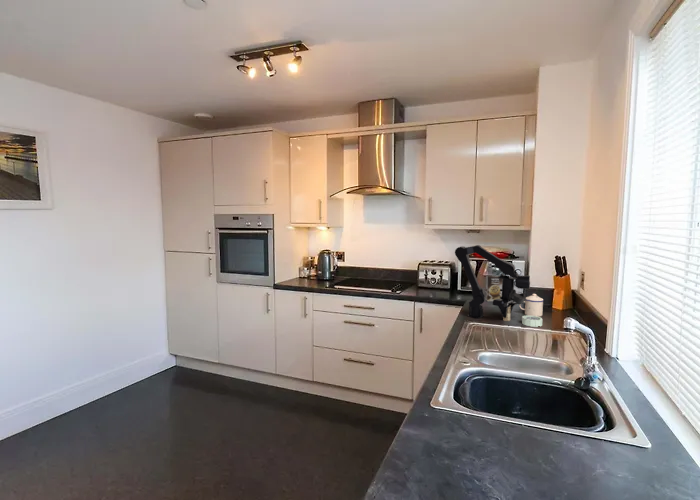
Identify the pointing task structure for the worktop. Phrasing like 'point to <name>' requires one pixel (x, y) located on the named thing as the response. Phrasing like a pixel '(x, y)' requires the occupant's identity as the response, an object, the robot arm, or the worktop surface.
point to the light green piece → (532, 321)
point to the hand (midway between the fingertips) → (506, 316)
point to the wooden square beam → (507, 314)
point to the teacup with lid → (533, 306)
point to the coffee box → (493, 287)
